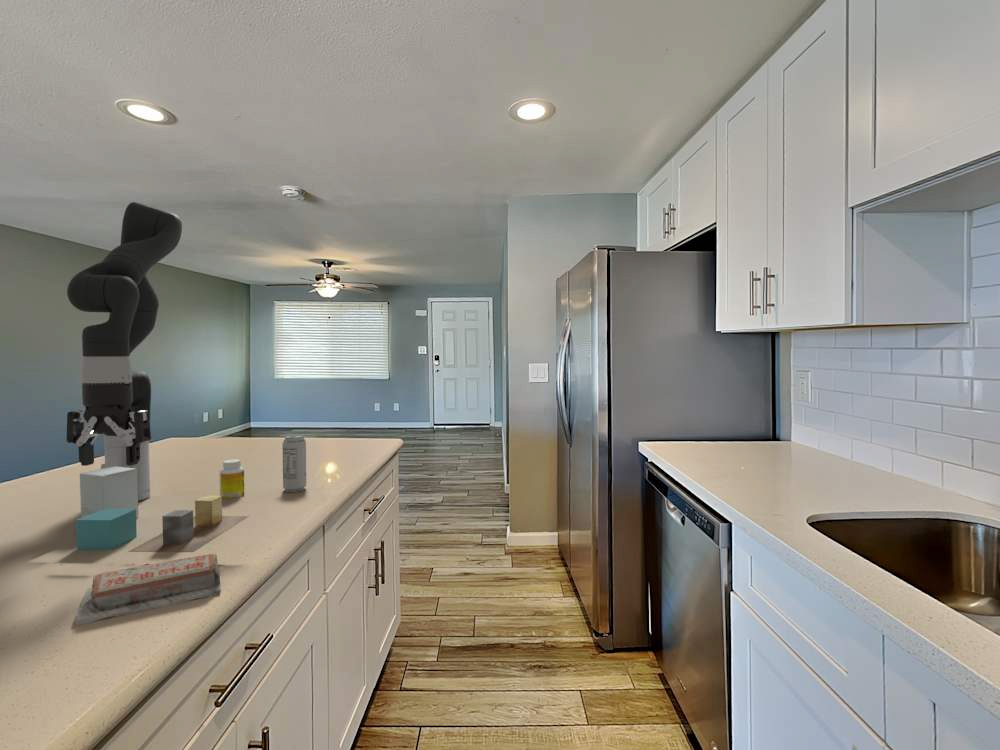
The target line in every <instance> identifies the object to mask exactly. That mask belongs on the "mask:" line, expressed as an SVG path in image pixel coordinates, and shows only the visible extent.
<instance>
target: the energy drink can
mask: <svg viewBox="0 0 1000 750" xmlns="http://www.w3.org/2000/svg"><path fill="white" fill-rule="evenodd" d="M305 487H307V442H306V440H305V437H304V435H302V434H292V435H291V434H290V435H286V436H284V440H283V442H282V488H283V489H284V490H285V492H287V493H298V491H299V492H302V491H304V490H305Z"/></svg>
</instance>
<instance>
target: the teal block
mask: <svg viewBox="0 0 1000 750" xmlns="http://www.w3.org/2000/svg"><path fill="white" fill-rule="evenodd" d="M75 525H76V526H75V529H76V530H75V531H76V549H77V550H102V551H103V550H110V551H112V550H114V549H115V548H117V547H119V546H121V545H124V544H125V543H127V542H129V541H131V540H133V539H135V538H137V536H138V535H137V519H136V509H103V510H100V511H98V512H95V513H92V514H90V515H87V516H85V517H82V518H81V517H80V518H77V519H76V520H75Z"/></svg>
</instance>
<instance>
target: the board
mask: <svg viewBox="0 0 1000 750" xmlns="http://www.w3.org/2000/svg"><path fill="white" fill-rule="evenodd" d="M247 518H249V515H222V521H221V522H219V523H218V524H216V525H214V526H213V527H206V526H195V515H194V509H193V510H191V509H189V510H185V509H184V510H182V509H181V510H178V509H175V510H172V511H170V512H168V513H166V514H164V515H162V519H161V520H162V522H161V523H162V533H160V534H158V535H156V536H155V537H152V538H151V539H149V540H147V541H144V543H141V544H140V545H138V546H135V547H134V548H131V549H130V550H129V552H134V553H135V552H142V553H144V552H148V553H149V552H150V553H156V552H157V553H159V552H160V553H162V552H163V553H167V552H168V553H194V552H195V551H197V550H199V549H201V548H202V547H204V546H205V545H207V544H208V543H210V542H212V541H213V540H214V539H216V538H217V537H219V536H221V535H222V534H224V533H225V532H227V531H229V530H230V529H232V528H233V527H235V526H236V525H239V523H241V522H242V521H245V519H247Z"/></svg>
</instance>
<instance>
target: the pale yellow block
mask: <svg viewBox="0 0 1000 750" xmlns="http://www.w3.org/2000/svg"><path fill="white" fill-rule="evenodd" d="M194 514H195V515H194V516H195V526H206V527H213V526H214V525H216V524H218V523H219V522H221V521H222V516H223V497H222V496H220V495H204V496H201V497H200V498H198V499H195V500H194Z"/></svg>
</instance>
